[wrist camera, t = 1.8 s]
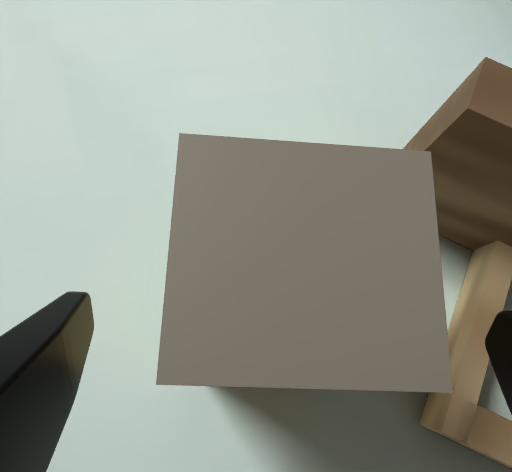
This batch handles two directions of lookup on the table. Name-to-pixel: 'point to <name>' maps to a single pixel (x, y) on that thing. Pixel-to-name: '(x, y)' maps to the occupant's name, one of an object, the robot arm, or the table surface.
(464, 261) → the table surface
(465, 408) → the wall board
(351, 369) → the grey-topped square block
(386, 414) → the table surface
